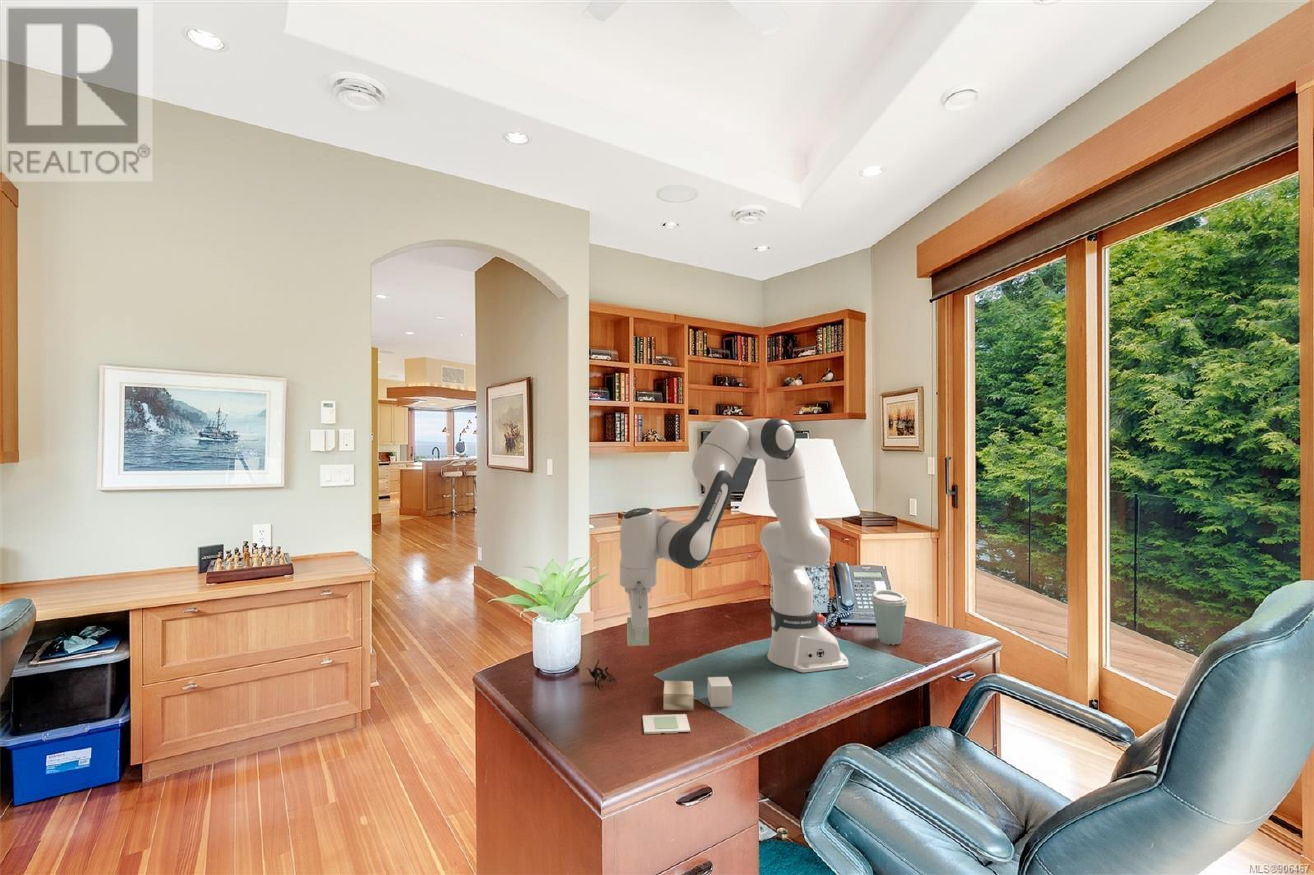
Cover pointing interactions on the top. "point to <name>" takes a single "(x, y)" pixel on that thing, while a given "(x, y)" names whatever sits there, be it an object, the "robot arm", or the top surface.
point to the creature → (603, 676)
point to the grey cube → (719, 692)
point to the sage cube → (631, 635)
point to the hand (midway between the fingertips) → (637, 634)
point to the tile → (665, 724)
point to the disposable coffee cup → (889, 615)
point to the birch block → (678, 695)
